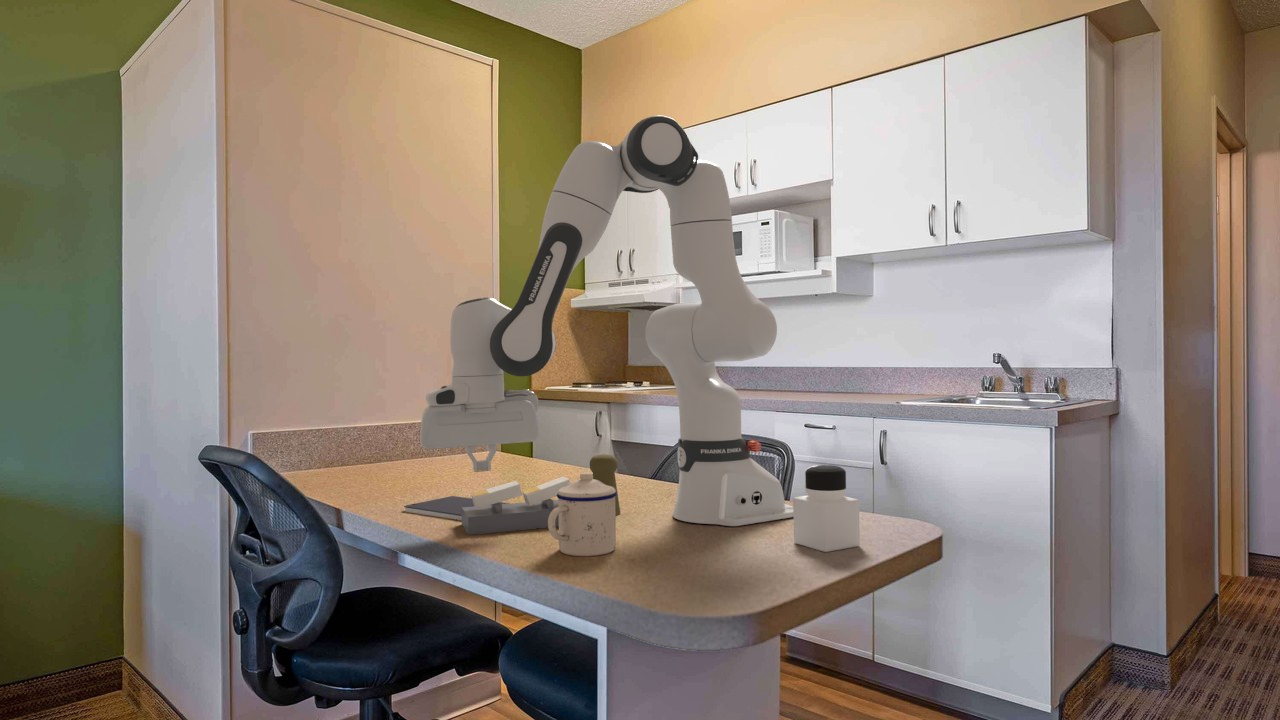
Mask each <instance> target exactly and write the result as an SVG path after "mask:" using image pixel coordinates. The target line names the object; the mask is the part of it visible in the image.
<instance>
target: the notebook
mask: <svg viewBox="0 0 1280 720" xmlns="http://www.w3.org/2000/svg"><path fill="white" fill-rule="evenodd" d="M500 503H501V504H511V503H509V502H504V501H502V502H500ZM403 507H404V509H405V510H404V511H405V512H406V513H413V514H417V515H426V516H432V517H436V518H437V517H438V518H445V519H451V520H456V519H457V520H458V521H462V507H475V506H474V504H473V500H472V497H463V496H456V495H451V496H445V497H440V498H435V499H430V500H426V501H422V502H421V501H420V502H417V503H410V504H407V505H403Z"/></svg>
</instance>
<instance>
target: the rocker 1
mask: <svg viewBox="0 0 1280 720" xmlns="http://www.w3.org/2000/svg"><path fill="white" fill-rule="evenodd" d="M470 496H471V498H472V500H473V504H474V506H475V507H476V508H477V509H479V508H482V507H485V506H489V505H492V504H495V503H498V502H504V501H507V500H512V499H515V498H518V497H521V496H523V493H522V489H521V484H520V483H519V482H518V481H516V480H513V481H509V482H507V483H504V484H500V485H496V486H493V487H490V488H486V489H483V490H479V491H476V492H473V493H472V492H471V495H470Z"/></svg>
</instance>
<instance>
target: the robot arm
mask: <svg viewBox="0 0 1280 720" xmlns="http://www.w3.org/2000/svg"><path fill="white" fill-rule="evenodd" d="M727 186H728V185H727V182H726V179H725V175H724V171H723V170H722V169H721V168H720V167H719V166H718V165H717V164H715V163H713V162H711V161H708V160H704V159H703V160H702V159H699V154H698V151H697V150H696V148H695V147H694V146H693V144H692V142H691V141H690V138H689V136H688V135H687V132H686V131H685V129H684V127H683V126H681V125H680V123H679V122H677V121H676V120H675V119H674V118H671V117H669V116H665V115H652V116H648V117H646V118H643V119H641V120H640V121H638V122H637V123H636V124H635V125H634V126H633V127H632V128H631V130H629V131H628V132H627V134H626V135H625V137H624V138H623V140H622V141H621V142H620V143H619V144H617V145H608V144H606V143H604V142H600V141H598V140H596V141H595V140H586V141H583V142H581V143H579V144H577V145H576V146H575V148H574V149H573V150H572V152H571V153H570V155H569V157H568V159H567V160H566V162H565V164H564V165H563V166H562V169H561V171H560V173H559V175H558V177H557V179H556V182H555V183H554V186H553V187H552V190H551V191H552V192H551V193H550V196H549V199H548V202H547V205H546V208H545V212H544V216H543V220H542V226H541V232H540V237H539V242H538V247H537V248H538V249H537V251H536V252H537V253H536V256H535V258H534V261H533V264H532V266H531V268H530V271H529V273H528V276H527V277H526V281H525V283H524V285H523V288H522V290H521V293H520V295H519V297H518V300H517V301H516V304H515V305H514V306H513V307H512V308H510V307H508V306H507V305H505V304H503V303H501V302H499V301H498V300H497V299H495V298H493V297H482V298H481V297H479V298H476V299H469V300H466V301H463V302H460V303H459V304H458V305H456V306H455V308H454V309H453V311H452V315H451V319H450V338H449V339H450V342H449V343H450V354H451V357H452V360H453V367H452V373H451V383H450V384H448V385H443V386H441V387H439V388H436V389H434V390H430V391H428V393H426V397H425V398H426V399H425V401H426V404H427V405H428V406H427V407H426V408H424V410H423V412H422V416H421V422H420V431H419V432H420V433H419V435H420V436H419V440H420V446H421V447H422V448H423V449H424V450H426V451H427V450H442V449H454V448H456V449H457V448H465V453H466V454H467V456H468V457H469V459H470V461H471V462H472V470H473V471H472V472H473V473H479V472H480V473H481V472H491V470H492V468H491V467H492V465H491V464H492V463H491V461H492V460H493V458H494V456H495V455H496V453H497V450H498V449H497V445H507V444H516V443H517V444H519V443H533V442H536V441H537V439H538V438H539V437H540V429H539V422H538V416H537V412H538V410H539V407H540V406H539V397H538V395H537V394H536V393H535V392H534V391H530V389H520V390H518V389H517V390H516V389H507V390H505V378H504V377H505V376H504V373H507V374H509V375H512V376H514V377H528V376H531V375H535V374H537V373H538V372H540V371H541V370H542V369H544V367H545V366H547V364H548V363H549V362H550V361H551V359H552V358H553V356H554V354H555V352H556V349H557V348H556V347H557V340H556V336H555V333H554V331H553V321H554V317H555V314H556V311H557V310H558V309H557V308H558V307H559V304H560V303H561V300H562V297H563V294H564V292H565V289H566V287H567V284H568V282H569V279H570V277H571V275H572V273H573V272H574V270H575V269H576V267H577V266H578V264H580V262H582V260H583V259H584V258H586V257H587V256H588V255H589V254H591V253H592V252H593V251H594V250H595V248H596V247H597V246H598V243H599V242H600V240H601V238H602V236H603V235H604V234H605V231H606V229H607V227H608V225H609V222H610V220H611V217H612V215H613V212H614V209H615V206H616V204H617V201H618V199H619V197H620V196H621V194H622V193H623V192H629V193H631V192H632V193H637V194H638V193H639V194H648V193H653V192H656V191H658V190H659V191H661V192H662V193H663V195H664V197H665V198H666V201H667V205H668V208H669V222H670V238H671V239H670V240H671V251H672V264H673V267H674V270H675V271H676V272H677V275H678V274H679V276H680V277H681V278H683V279H685V280H687V281H689V282H692V284H693V285H694V286H695V287H696V289H697V292H698V294H699V297H700V300H701V301H696V302H694V301H693V302H681V303H674V304H671V305H668V306H667V305H666V306H665V307H661V308H659V309H656V310H655V311H653V312H652V313H651V314H650V316H649V318H648V320H647V322H646V325H645V334H644V335H645V341H646V344H647V346H648V349H649V350H650V352H651V353H652V355H654V357H655V358H657V359H658V360H660V362H661V363H662V364H663V366H665V368H666V370H667V371H668V373H669V375H670V377H671V379H672V381H673V383H674V384H673V385H674V387H675V391H676V394H677V401H678V410H679V414H678V415H679V430H680V431H679V434H680V437H679V438H678V441H677V442H678V443H677V463H678V466H677V467H678V470H679V477H678V478H679V479H678V487H677V494H676V495H677V496H676V501H675V506H674V509H673V513H672V517H673V518H674V519H677V520H678V521H683V522H685V523H687V522H688V523H692V524H693V523H695V524H707V525H718V526H719V525H720V526H727V527H738V526H744V525H751V524H756V523H757V524H758V523H765V522H771V521H777V520H781V519H782V520H784V519H789V518H794V514H793V506H792V505H791V504H790V505H789V504H787V503H785V496H784V491H783V487H782V485H781V482H780V481H779V479H778V477H776V476H774V475H773V474H772V473H770V472H769V471H768V470H766V469H765V468H764V467H763V466H762V465H761V464H759V463H758V462H756V461H755V460H754V459H753V458H751V452H754V453H759V452H760V450H762V447H763V446H762V444H761V443H760V442H759V441H758V440H757V441H756V440H749V441H748V440H747V439H746V438H743V437H742V401H741V397H740V395H739V393H738V391H737V390H736V389H735V388H734V387H732V386H731V385H729V384H727V383H726V382H724V381H723V380H722V378H720V375H719V374H718V372H717V368H716V364H715V363H717V362H724V363H725V362H744V361H748V360H754V359H757V358H761V357H764V356H766V355H767V354H768V353H769V352H770V351H771V350H772V348H773V346H774V344H775V341H776V339H777V334H778V333H777V332H778V327H777V326H778V325H777V320H776V318H775V315H774V313H773V311H772V309H770V307H769V306H768V305H767V304H766V303H765V302H763V301H761V300H760V299H759V298H758V297H757V296H755V294H754V293H753V292H752V291H751V290H750V288H749V287H748V285H747V284H746V283H745V281H744V278H743V277H742V274H741V271H740V270H739V267H738V263H737V262H738V261H737V257H736V251H735V250H736V249H735V241H734V231H733V229H734V228H733V216H732V209H731V201H730V195H729V194H730V193H729V191H728V187H727ZM477 446H478V447H480V446H486V450H487V451H488V454H487V456H486V458H485V459H482V460H481V459H480V460H477V459H476V457H475V456H474V453H475V452H476V447H477Z"/></svg>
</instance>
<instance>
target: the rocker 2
mask: <svg viewBox="0 0 1280 720" xmlns="http://www.w3.org/2000/svg"><path fill="white" fill-rule="evenodd" d="M571 483H572V482H571V481H570V479H569V478H567V477H566V476H561V477H558V478H555V479H553V480H550V481H547V482H545V483H542V484H539V485H537V486H533V487H531V488H527V489H526V490H525V489H524V490H523V491H522V490H521V492H522V496H523V499H524V503H525V502H526V503H527V504H528V505H529V506H531V505H534V504H536V503H539V502H542V501H544V500H547V499H552V498H555V497H557V494H558V491H559V489H561V488H563V487H566V486H568V485H570V484H571Z"/></svg>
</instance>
